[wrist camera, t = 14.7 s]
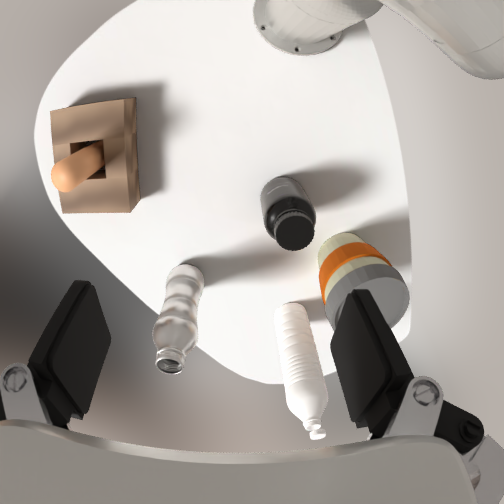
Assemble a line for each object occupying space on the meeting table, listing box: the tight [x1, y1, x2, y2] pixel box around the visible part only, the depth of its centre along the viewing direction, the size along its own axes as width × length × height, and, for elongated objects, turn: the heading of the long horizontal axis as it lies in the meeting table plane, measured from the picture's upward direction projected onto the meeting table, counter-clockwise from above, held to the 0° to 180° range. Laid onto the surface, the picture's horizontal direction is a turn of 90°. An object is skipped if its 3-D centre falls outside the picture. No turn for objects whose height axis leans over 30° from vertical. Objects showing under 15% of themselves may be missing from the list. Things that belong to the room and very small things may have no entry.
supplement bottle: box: [261, 177, 316, 251], centre depth 39 cm, size 7×7×12 cm
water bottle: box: [274, 303, 328, 440], centre depth 47 cm, size 9×6×25 cm
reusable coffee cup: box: [318, 233, 410, 332], centre depth 44 cm, size 13×12×15 cm
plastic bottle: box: [153, 264, 204, 375], centre depth 42 cm, size 6×7×20 cm
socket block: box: [50, 98, 140, 213], centre depth 36 cm, size 16×12×5 cm
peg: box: [51, 140, 105, 192], centre depth 33 cm, size 4×4×12 cm
